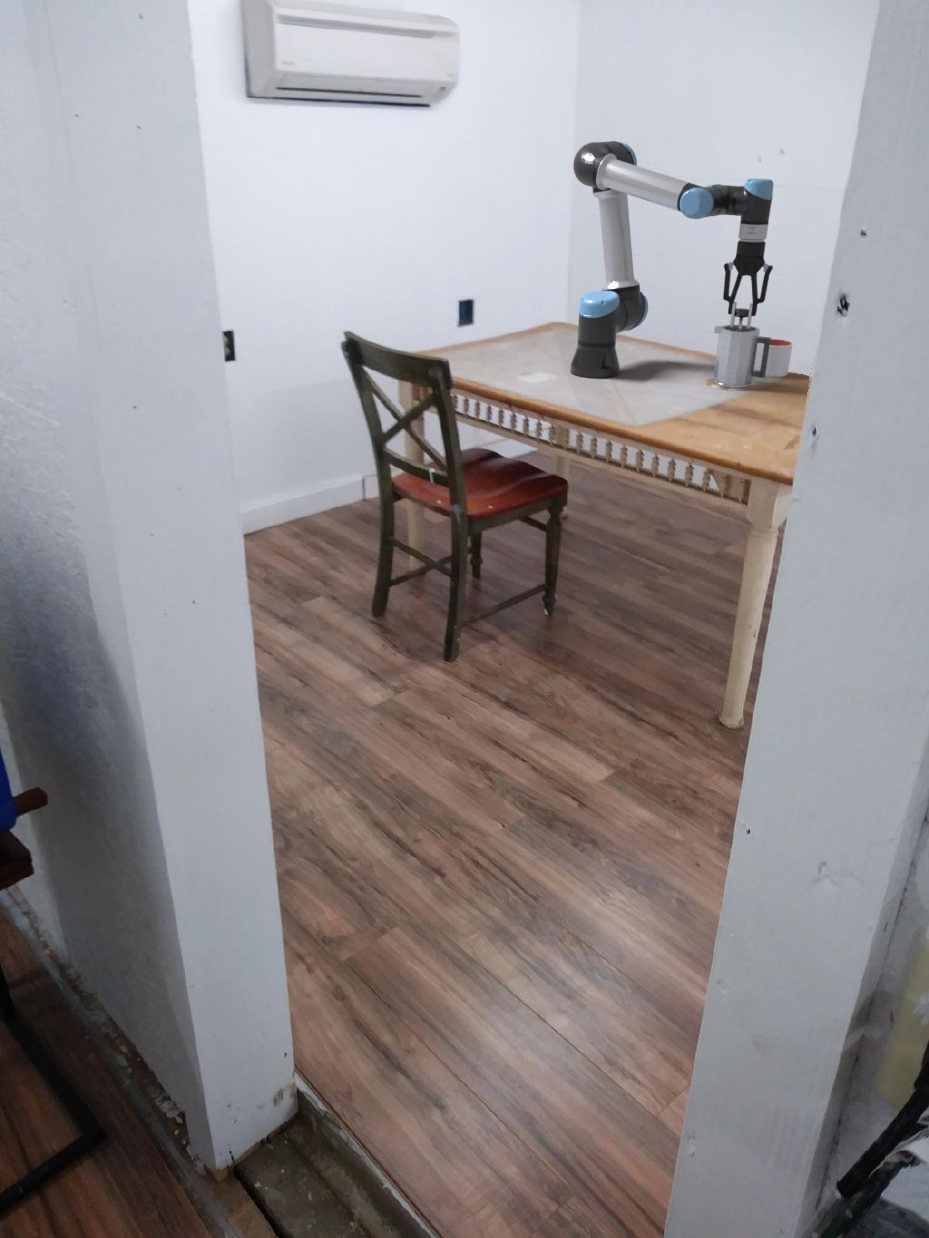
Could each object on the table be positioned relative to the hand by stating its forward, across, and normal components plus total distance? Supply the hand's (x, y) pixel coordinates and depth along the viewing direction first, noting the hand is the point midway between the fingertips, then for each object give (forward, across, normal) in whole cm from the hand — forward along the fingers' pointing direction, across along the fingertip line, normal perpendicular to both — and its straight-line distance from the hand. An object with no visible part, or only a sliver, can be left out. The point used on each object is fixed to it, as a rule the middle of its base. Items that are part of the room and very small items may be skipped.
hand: (740, 326), depth 276 cm
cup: (+17, +9, +18) cm, 27 cm away
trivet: (+17, 0, 0) cm, 17 cm away
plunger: (+6, 0, 0) cm, 6 cm away
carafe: (+17, 0, 0) cm, 17 cm away
